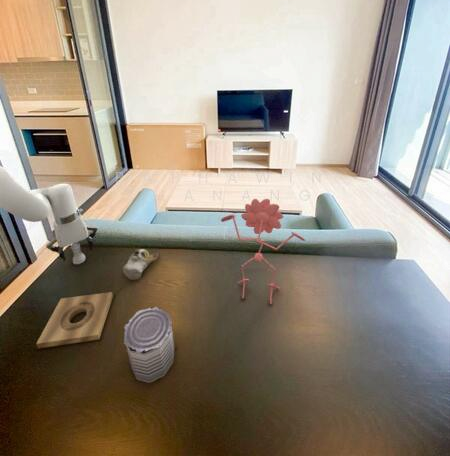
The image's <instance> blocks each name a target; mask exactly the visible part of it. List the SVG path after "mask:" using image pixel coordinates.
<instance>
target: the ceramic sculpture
mask: <svg viewBox="0 0 450 456" xmlns="http://www.w3.org/2000/svg"><path fill="white" fill-rule="evenodd" d="M160 254H161V252H157V253H152V254H150V253H149V251H148V250H147V249H145V248H137V249H136V250H135V251H134V252H133V253H131V255H130V256H129V259H128V261H127V263H126V264H125V265H124V266H123V267H122V272H123V275H124V276H125V277H126V278H128V279H129V280H131V281H134V280H139V279H140V278H141V277H142V274H143V271H144V270H145V269H146V268H147V267H148V266H150V265H152V264H154V263H156V261H158V259H159V258H160Z"/></svg>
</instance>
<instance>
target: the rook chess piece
mask: <svg viewBox="0 0 450 456" xmlns="http://www.w3.org/2000/svg"><path fill="white" fill-rule="evenodd" d="M70 250H72V253H73V257H72V264H73V265H81V264H83V263H84V262H85V261H86V257H87V256H86V255H85V254H84V253H83V252H82V250H81V244H80V243H79V242H76V243H73V244H71V246H70Z"/></svg>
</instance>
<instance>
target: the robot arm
mask: <svg viewBox="0 0 450 456" xmlns="http://www.w3.org/2000/svg"><path fill="white" fill-rule="evenodd" d="M0 208H1V209H2V210H4V211H6V212H8V213H9V214H11V215H13V216H15V217H18V218H20V219H21V220H24V221H26V222H31V223H36V222H37V223H38V222H41V221H44V220H46V219H47V218H48V217H49V216H50V214H51V212H52V215H53V218H54V221H53V231H54V235H55V236H54V238H52V239H51V240H50V241H49V242H48V243H47V244H46V245H45V247H46V249H48V250H50V251H51V252H53V253H57V254H58V255H59V258H60V260H62V261H63V262H65V261H66V259H67V258H66V255H65V251H64V248H65V247H68V246H72V244H73V243H75V244H76V242H77V243H79V242H80V241H83V240H86V241H87V244H88V245H87V246H88V248H89V250H90V251H92V250H93V247H94V243H93V239H94V238H95V236H96V234H97V231H98V227H97V226H94V225H93V226H92V225H87V224H86V222H85V219H84V216H83V215H82V214H81V213H83V208H78V206H77V202H76V198H75V194H74V191H73V188H72V185H70V184H69V183H58V184H54V185H52V186H48V187H42V188H33V189H30V190H27V189H25V188H24V187H22V185H20V184H19V183H18V182H17V181H16V180H15V178H14V177H13V176H12V175H11V173H10V172H9V171H7V169H6V168H5V167H4V166H1V165H0ZM89 231H91V232H90V233H89ZM55 244H57V246H56V245H55Z"/></svg>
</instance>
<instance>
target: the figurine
mask: <svg viewBox="0 0 450 456" xmlns="http://www.w3.org/2000/svg"><path fill="white" fill-rule="evenodd" d="M244 205H245V206H244V209H245V212H243V213H241V215H240V217H241V218H242V219H243V220H244V221H245V226H246V227H247V228H253V232H254V234H256V235H258V236H257V238H241V236H240V232H239V229H238V227H237V222H236V219H235V217H236V215H235V214H234V213H232V214H228V215H225V216H223V217H221V218H220V221H221V222H223V223H224V222H227V221H230V220H232V221H233V224H234V225H233V226H234V228H235V231H236V236H237V238H238V241H239V242H240V241H241V242H242V241H245V242H246V241H252V242H253V241H256V243H260V244H261V245H260V247H259V250H258V252H256V253H255V254H254V256H253V257H252V258H250V259H249V260H247V261H246V262H244V263H243V264H241V268H240V269H238V270H237V272H239V271H240V270H241V272H242V278H243V279H242V280H240V281H238V282H237V285H239V286H240V285H243V286H242V295H241V296H242V297H241V299H245V290H246V288H245V287H246V283H247V282H249V280H250V279H248V278H245V273H244V269H245V266H246V265H247V264H249V263H250V262H251V261H253V260H255V262H257V263H260V262H262V261H264V262H266V263H267V265H269V266H270V267H271V268H272V269H273V270H274V271H273V276H272V282H271V283H267V286H268V287H270V295H269V296H270V298H269V304H270V305H272V304H273V303H272V302H273V291H274V289H275V290H281V287H280V286H277V285H275V284H274V281H275V277H276V271H277V269H276V268H275V267H274V266H273V265H272V264H271V263H269V262H268V260H266V259H265V258H264V255H263V254H262V253H261V252H262V251H261V250H262V248H263V246H264V245H265V246H267V247H269V248H271V249H273V250H275V251H277V250H279V249H280V248H281V247H282V246H284V245H285V244H286V243H287V242H289V241H290V240H291V239H292V238H293V237H296V238H298V239H299V240H301V241H303V242H306V239H305V238H304V237H302V236H301V235H299V234H298V233H296V232H293V231H292V232H291V235H289V236H288V237H287V238H286V239H285V240H284V241H282V243H280V244H279V245H278V246H277V247H275V246H272V245H271V244H269V243H266V242H265V239H260V238H261V235H262V233H263V232H265V233H266V234H271V233H272V232H273V229H277V230H279V229H281V228H282V223H281V222H280V220H281V219H283V218H284V215H283V214H282V212H280V211H279V209H280V204H279V205H278V204H277V203H271V199H269V198H264V199H262V200H261V201H260V200H258V199H257V198H254V199H252V201H251V202H250V203H246V204H244ZM248 268H251V266H247V269H248ZM256 268H258V269H259V268H260V266H258V265H257V266H255V269H256ZM261 269H264V268H263V267H261ZM265 270H266V271H269V272H270V270H268V269H266V268H265ZM235 273H236V271H234V272H233V274H235Z"/></svg>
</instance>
